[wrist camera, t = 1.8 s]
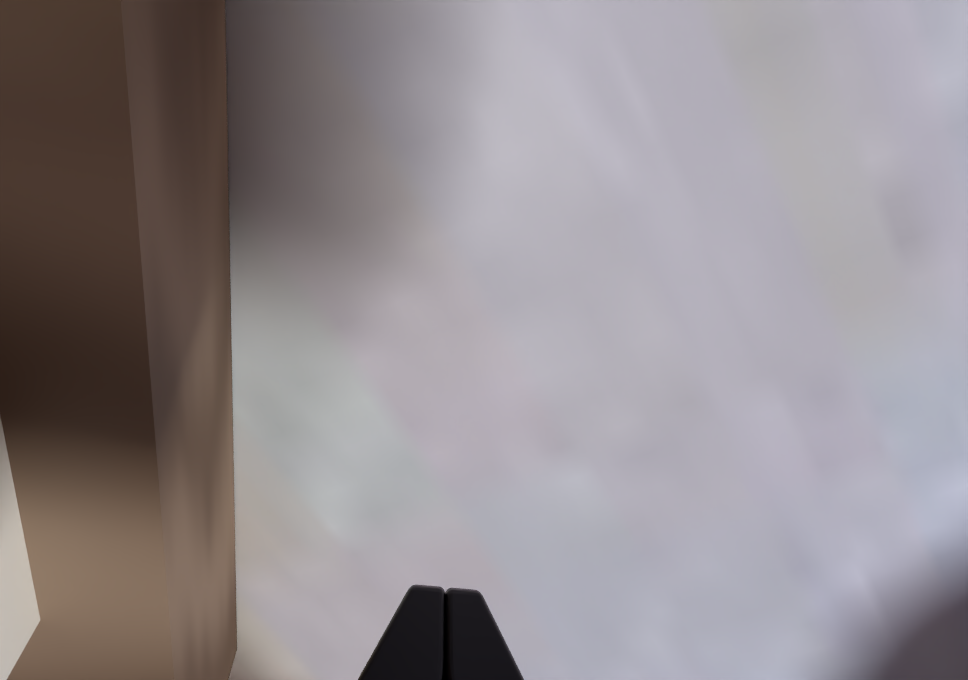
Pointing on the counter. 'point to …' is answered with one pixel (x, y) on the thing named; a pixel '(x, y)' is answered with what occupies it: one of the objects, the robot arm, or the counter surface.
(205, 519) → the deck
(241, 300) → the counter surface
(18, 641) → the tile
